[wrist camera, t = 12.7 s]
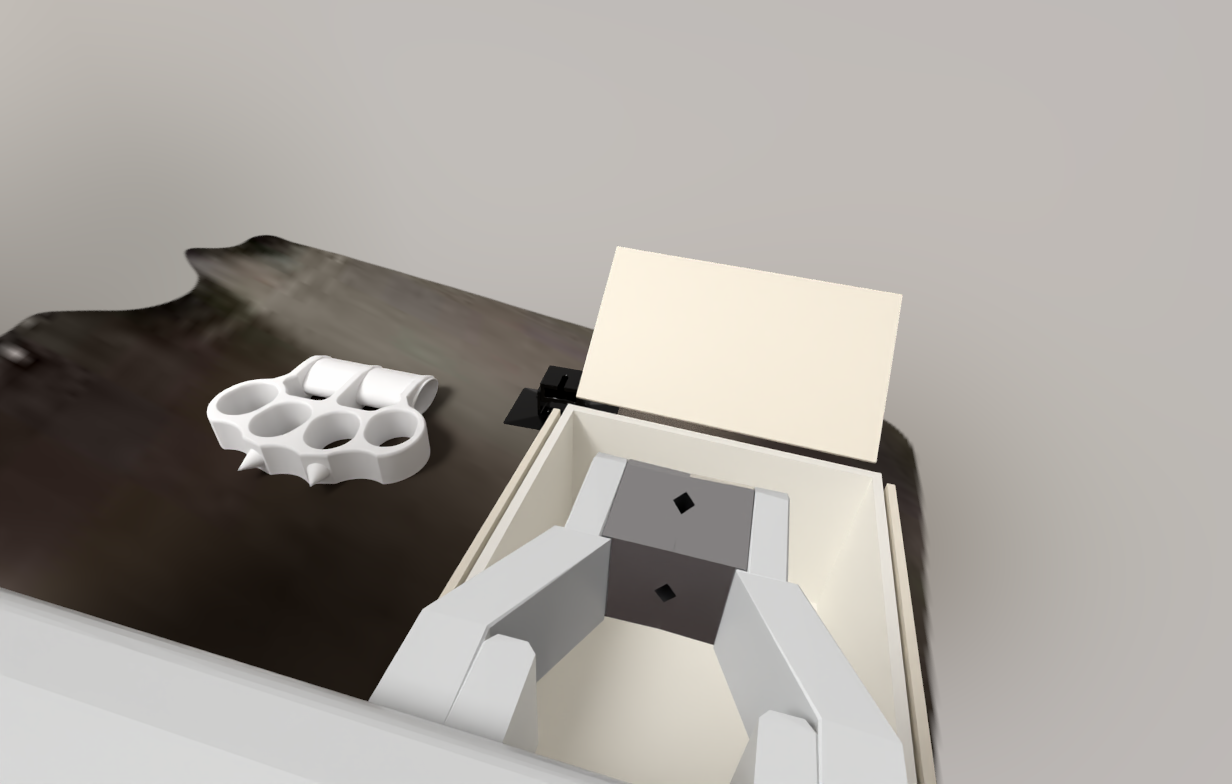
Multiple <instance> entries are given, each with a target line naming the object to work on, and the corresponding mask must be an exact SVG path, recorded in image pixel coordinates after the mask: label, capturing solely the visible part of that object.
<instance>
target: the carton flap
mask: <svg viewBox="0 0 1232 784" xmlns="http://www.w3.org/2000/svg"><path fill="white" fill-rule="evenodd" d="M901 302H902V294H896V293H890V292H884V291H878V290H871V289H866V288H860V287H854V286H848V285H842V284H837V283H830V282H824V281H819V280H813V279H807V278H801V277H795V276H789V275H783V274H777V273H771V272H765V271H760V270H754V269H748V268H742V267H735V266H729V265H724V264H718V263H712V262H706V261H700V260H694V259H688V258H683V257H677V256H671V255H665V254H659V253H652V252H647V251H641V250H635V249H629V248H624V247H617V249H616V252H615V256H614V259H613V263H612V267H611V271H610V274H609V278H608V281H607V285H606V289H605V292H604V296H603V299H602V303H601V307H600V311H599V314H598V318H597V322H596V325H595V329H594V332H593V336H592V340H591V343H590V347H589V351H588V354H587V358H586V362H585V365H584V369H583V373H582V376H581V380H580V384H579V387H578V391H577V394H576V397H577V398H580V399H584V400H589V401H594V402H598V403H603V404H607V405H612V406H616V407H621V408H625V409H630V410H634V411H639V412H643V413H648V414H652V415H657V416H662V417H666V418H671V419H675V420H680V421H684V422H689V423H693V424H698V425H702V426H707V427H711V428H716V429H720V430H725V431H730V432H734V433H739V434H743V435H748V436H752V437H757V438H761V439H766V440H770V441H775V442H779V443H784V444H789V445H793V446H798V447H802V448H807V449H811V450H816V451H820V452H825V453H829V454H834V455H838V456H843V457H847V458H852V459H857V460H861V461H866V462H870V463H876V461H877V455H878V449H879V442H880V436H881V429H882V423H883V417H884V410H885V404H886V398H887V390H888V385H889V378H890V372H891V366H892V359H893V352H894V346H895V340H896V334H897V327H898V321H899V314H900V308H901Z"/></svg>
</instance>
